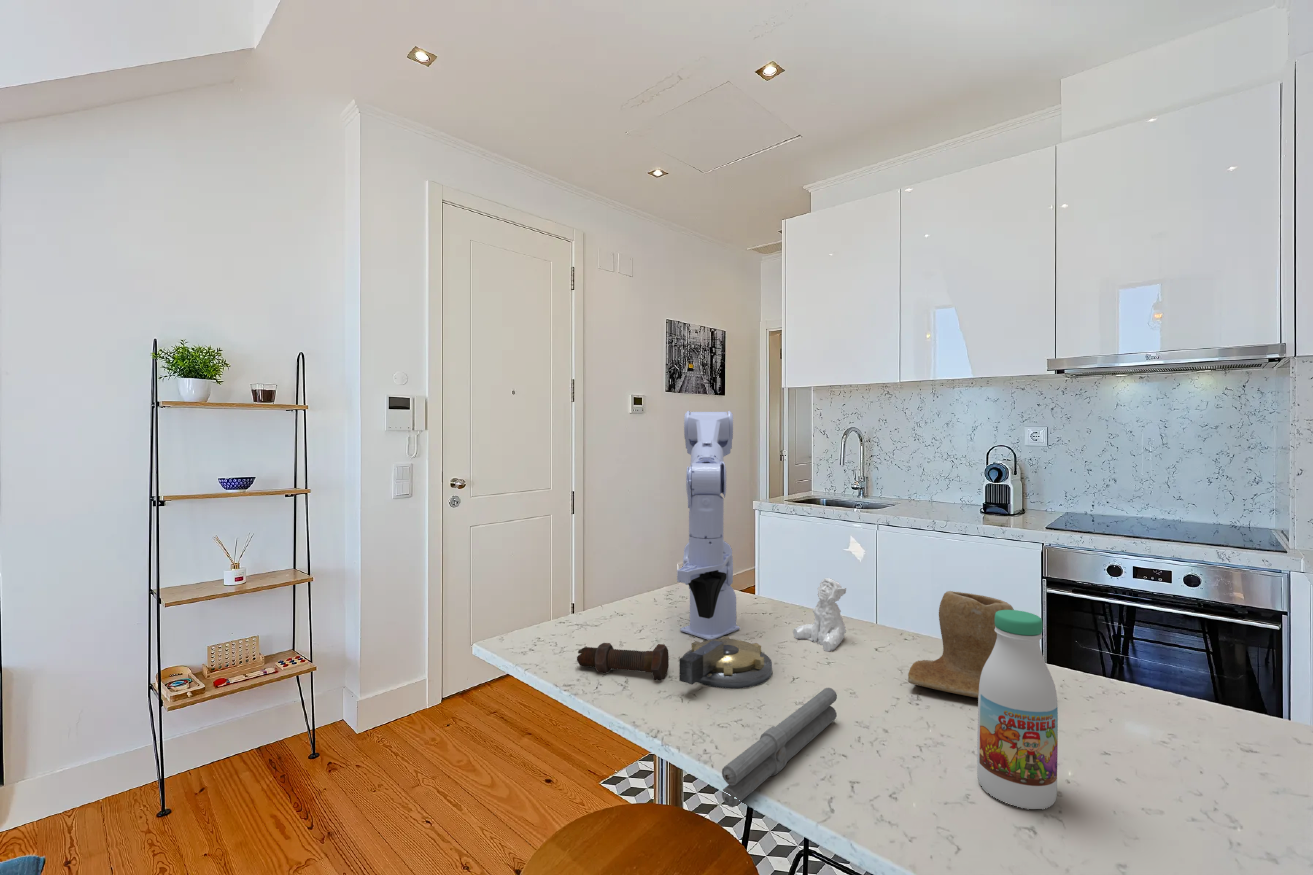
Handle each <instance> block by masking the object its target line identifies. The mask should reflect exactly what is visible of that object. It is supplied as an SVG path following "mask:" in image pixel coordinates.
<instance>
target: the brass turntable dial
mask: <svg viewBox="0 0 1313 875" xmlns="http://www.w3.org/2000/svg"><path fill="white" fill-rule="evenodd" d="M691 649H692V652H690V653H688V654H687V655H685V656H682V657H680V658H678V659H679V664H678V667H679V674H678V675H679V676H678V678H679V682H681V683H685V684H689V685H694V684H696V683H697V681H699V680H700V679H701V678H703V676H704V675H705V674H707V673H708V672H710V671H711V670H712V671H717V672H723V673H724V675H733V673H734V672H744V671H748V670H751V669H754V668H756V669H762V668H763V667H764V657H760V654H761V652H762V645H761V644H759V643H757V642H754V643H750V642H747V641H745V640H740V639H734V638H730V636H721V638H716V639H712V640H707V639H706V640H704V641H703V640H702V641H701V642H700V641H696V640H695V641H694V642H691Z"/></svg>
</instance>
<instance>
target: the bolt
mask: <svg viewBox="0 0 1313 875" xmlns="http://www.w3.org/2000/svg"><path fill="white" fill-rule="evenodd" d="M577 653H578V654H579V655H577V656H576V662H577V663H578V665H579V666H580V667H583V668H595V670H596V672H597V673H599V674H608V673H610V672H611V671H612V670H618V671H619V670H620V671H629V672H641V673H647V674H652V678H653V681H657V682H661V681H663V680H665V678H666V677H667V675H668V672H669V667H670V666H669V665H670V660H669V659H670V658H669V657H670V656H669V655H670V654H669V649H668V647H667V646H666V645H665V644H663V643H657V645H656V646H655V647H654V649H653V650H631V649H616V648H614V646H613V645H612V644H611V643H610V642H603V643H600V644H599V645H598V646H597V647H592V646H591V647H589V646H584V647H582V648H581V649H578V651H577Z"/></svg>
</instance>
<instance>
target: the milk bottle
mask: <svg viewBox="0 0 1313 875" xmlns="http://www.w3.org/2000/svg"><path fill="white" fill-rule="evenodd" d="M1043 625H1044V624H1043V620H1042V618H1041V616H1038V615H1037V614H1035V613H1031V612H1028V611H1023V610H1017V609H1014V610H1000V611H997V612H996V613H995V632H996V633H997V639H996V643H995V646H994V648H993V651H992V653H991V655H990V656H989V658H988V660H987V661H986V663H985V665H984V667H983V670H982V673H981V676H980V682H979V696H978V698H977V700H978V701H977V702H978V703H977V738H976V739H977V741H976V742H977V744H976V745H977V747H976V748H977V749H976V750H977V754H976V756H977V757H976V763H977V766H976V768H977V769H976V772H977V773H976V774H977V781H978V783H979V786H980V787H981V786H982V787H981V789H983V791H984V792H985V793H987V794H988V793H989V794H990V795H989V794H988V795H989V796H991V797H992V796H993V797H992V798H994V797H995V798H996V800H997V799H999V800H1001V801H1004V802H1007V803H1009V804H1012V805H1014V806H1017V807H1016V808H1018V807H1021V808H1020V809H1023V808H1027V809H1026V810H1029V809H1042V810H1045V809H1044V808H1046V809H1049V808H1051V807H1052V806H1053V805H1054V804H1055V802H1056V800H1057V796H1058V795H1057V794H1058V793H1057V790H1058V751H1059V749H1058V742H1059V741H1058V740H1059V738H1058V736H1059V732H1058V731H1059V730H1058V728H1059V723H1058V720H1059V717H1058V716H1059V712H1058V711H1059V710H1058V707H1059V706H1058V694H1057V689H1056V688H1057V687H1056V685H1055V681H1054V679H1053V676H1052V675H1051V674H1052V673H1051V672H1050V670H1049V668H1048V666H1047V664H1046V661H1045V658H1044V656H1043V652H1042V649H1041V646H1040V645H1041V643H1040V642H1041V641H1040V640H1042V639H1043V635H1042V633H1043V629H1044V626H1043ZM995 798H994V799H995ZM999 800H998V801H999ZM1001 801H1000V802H1001ZM1051 805H1052V806H1051ZM1014 806H1013V807H1014ZM1050 806H1051V807H1050ZM1048 807H1049V808H1048Z"/></svg>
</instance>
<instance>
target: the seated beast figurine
mask: <svg viewBox="0 0 1313 875" xmlns="http://www.w3.org/2000/svg"><path fill="white" fill-rule="evenodd" d="M846 593H847V587H842V585H841V584H840V583H839V581H835V579H832V578H829V577H825V578H823V579H822V580H821V582H820V583H819V586H818V588H817V596H818V599H819V600H818V602H817V603H816V606H815V607H814V608H813V609H812V613H813V615H814V618H813V619H814V622H813V623H808V624H800V625H799V626H797V627H794V628H793V629H792V633H793V637H794V638H795V639H796V640H807V641H811V642H813V643H818V645H820V646H822V649H823V651H825V652H832V651H835V650H836V648H837V647H838V646H840V644H841V643H842V640H844V638H845V633H846V632H847V630H846V625H845V623H844V620H843V618H842V616H841V612H842V611H841V609H840V607H839V605H838V604H837V603H836V602H838V601H840V599H841V597H843V596H844V595H845V594H846Z"/></svg>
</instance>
